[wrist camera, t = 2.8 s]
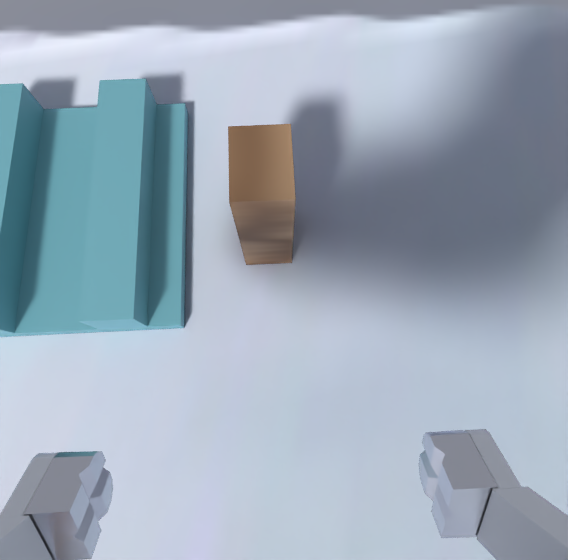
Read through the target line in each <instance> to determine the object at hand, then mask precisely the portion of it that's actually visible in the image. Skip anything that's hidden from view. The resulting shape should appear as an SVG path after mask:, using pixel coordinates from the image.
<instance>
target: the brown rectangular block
mask: <svg viewBox="0 0 568 560" xmlns="http://www.w3.org/2000/svg"><path fill="white" fill-rule="evenodd" d="M228 141H229V203H230V206H231V210H232V214H233V217H234V221H235V225H236V229H237V232H238V236H239V240H240V243H241V247H242V251H243V255H244V258H245V262H246V265H253V264H275V263H292V250H293V233H294V216H295V200H296V199H295V183H294V167H293V152H292V136H291V124H278V125H254V126H230V127H228Z"/></svg>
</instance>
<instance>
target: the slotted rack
mask: <svg viewBox="0 0 568 560" xmlns="http://www.w3.org/2000/svg"><path fill="white" fill-rule="evenodd" d="M187 138H188V111H187V108H186V105H185V103H182V104H158V105H157V104H156V102H155V99H154V97H153V95H152V92H151V90H150V87H149V85H148V83H147V80H146V79H122V80H100V83H99V94H98V105H97V107H84V108H60V109H43V108H42V106H41V105H40V104H39V103H38V102H37V100H36V99H35V98H34V97H33V95H32V94H31V93H30V92H29V91H28V89H27V88H26V87H25V86H24V84H23V83H22V84H0V337H8V336H29V335H49V334H70V333H90V332H110V331H131V330H151V329H172V328H184V315H185V256H186V197H187Z"/></svg>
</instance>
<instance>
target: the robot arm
mask: <svg viewBox="0 0 568 560" xmlns="http://www.w3.org/2000/svg"><path fill="white" fill-rule="evenodd" d="M422 444H423V446H424V449H425V451H424V452H422V453H421V454H420V458H419V474H420V479H421V483H422V486H423V489H424V492H425V494H426V495H427V496H428V497H429V498H431V499H432V500H433V505H432V510H431V512H432V514H433V517H434V520H435V522H436V525H437V528H438V531H439V533H440V536H441V538H459V537H477V540H478V541H479V542H480V543H481V544H482V545H483V546H484V547H485V548H486V549H487V550H488V551H489V552H490V553H491V554H492V556H493V557H494V558H495V559H496V560H568V515H566V514H565V513H564V512H562V511H561V510H559V509H558V508H557V507H555V506H554V505H552V504H551V503H550V502H548V501H547V500H546V499H544V498H543V497H541V496H540V495H539V494H537V493H536V492H534V491H533V490H532V489H530V488H529V487H521V485H520V483H519V481H518V480H517V478H516V476H515V475H514V473H513V471H512V470H511V468H510V466H509V465H508V463H507V461H506V460H505V458H504V456H503V455H502V453H501V451H500V450H499V448H498V446H497V445H496V443H495V441H494V440H493V438H492V436H491V434H490V433H489V432H488V431H487V430H486V429H479V430H465V431H464V430H455V431H441V432H426V433H425V434H424V436H423V441H422ZM105 461H106V460H105V457H104V455H103V453H102V451H93V452H59V453H38V454H37V455H36V456H35V457H34V458H33V459H32V460H31V462H30V464H29V465H28V467H27V469H26V471H25V472H24V474H23V476H22V478H21V479H20V481H19V483H18V484H17V486H16V488H15V490H14V491H13V493H12V495H11V497H10V498H9V500H8V502H7V503H6V505H5V507H4V509H3V510H2V512H1V514H0V560H83V559H91V558H92V555H93V553H94V550H95V547H96V544H97V541H98V538H99V535H100V532H101V528H100V525H99V523H98V521H99V520H100V519H101V518H102V517H103V516H104V515H105V514H106V513H107V512H108V509H109V506H110V503H111V499H112V491H113V483H112V477H111V474H110V472H109V471H107V470H106V469H105V468H103V466H104V463H105Z"/></svg>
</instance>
